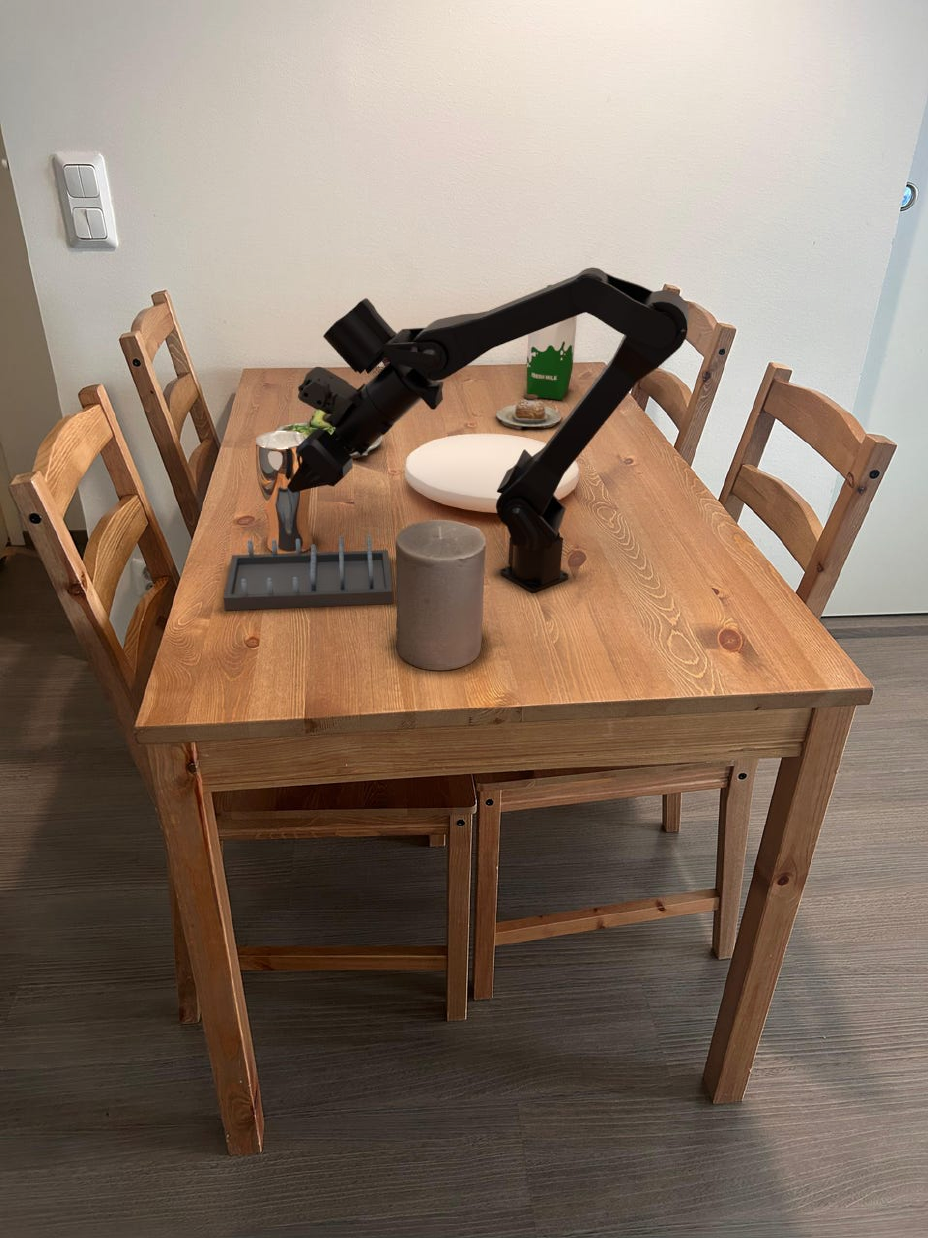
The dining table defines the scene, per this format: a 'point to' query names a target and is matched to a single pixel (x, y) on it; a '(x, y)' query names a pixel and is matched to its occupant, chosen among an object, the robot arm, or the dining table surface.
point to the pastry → (528, 414)
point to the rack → (308, 578)
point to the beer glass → (283, 490)
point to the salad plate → (321, 423)
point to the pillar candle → (439, 593)
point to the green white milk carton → (551, 359)
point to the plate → (473, 469)
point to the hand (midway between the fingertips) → (303, 475)
